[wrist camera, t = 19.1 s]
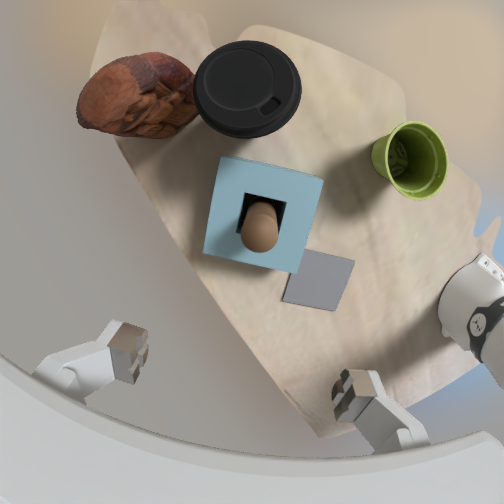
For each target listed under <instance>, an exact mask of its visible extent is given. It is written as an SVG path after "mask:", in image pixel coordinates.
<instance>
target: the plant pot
mask: <svg viewBox="0 0 504 504" xmlns="http://www.w3.org/2000/svg"><path fill="white" fill-rule="evenodd" d="M399 146H400V147H401V148H402V150H403V153H404V154H403V155H402V153H401V150H400V149H399ZM389 156H392V159H389ZM371 160H372V164H373V166H374V168H375V169H376V171H377V172H378V173H379V174H380V175H382V176H383V177H385V178H387V179H388V180H390V181H391V183H392V184H393V186H394V187H395V188H396V189H397V190H398V191H399V192H400V193H401V194H402V195H404V196H405V197H407V198H409V199H412V200H426V199H429V198H431V197H432V196H434V195H435V194H436V193H438V191H439V190H440V189H441V188H442V186H443V184H444V183H445V180H446V177H447V173H448V155H447V151H446V148H445V145H444V143H443V141H442V139H441V137H440V136H439V135H438V133H437V132H436V131H435V130H434V129H433V128H431V127H430V126H429V125H427V124H425V123H423V122H419V121H407V122H404V123H402V124H400V125H399V126H397V127H396V128H395V129H394V130H393V131H392V133H391V134H389V135H387V136H384V137H382V138H380V139H378V140H377V141H376V142H375V144H374V145H373V149H372V153H371ZM398 169H400V171H398V172H397V173H396V174H393V172H394V171H396V170H398Z"/></svg>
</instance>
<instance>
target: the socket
mask: <svg viewBox="0 0 504 504" xmlns="http://www.w3.org/2000/svg"><path fill="white" fill-rule="evenodd" d="M323 182H324V181H323V180H322V179H320V178H318V177H316V176H314V175H310V174H307V173H303V172H299V171H295V170H291V169H287V168H283V167H279V166H275V165H271V164H267V163H262V162H258V161H253V160H249V159H244V158H239V157H234V156H229V155H227V156H221V157H220V161H219V166H218V171H217V176H216V181H215V186H214V192H213V197H212V202H211V208H210V213H209V219H208V225H207V230H206V236H205V242H204V248H203V253H205V254H209V255H213V256H218V257H222V258H226V259H231V260H235V261H240V262H244V263H249V264H253V265H257V266H262V267H266V268H271V269H276V270H280V271H285V272H289V273H294V274H297V271H298V268H299V265H300V262H301V259H302V255H303V252H304V249H305V245H306V242H307V239H308V235H309V232H310V229H311V225H312V222H313V218H314V215H315V211H316V208H317V204H318V201H319V197H320V193H321V190H322V186H323ZM246 193H250V194H254V195H259V196H263V197H268V198H272V199H276V200H280V201H282V204H281V208H280V212H279V216H278V219H277V226H278V241H277V243H276V245H275V246H274V247H273V248H272V249H271V250H269V251H267V252H264V253H255V252H252V251H250V250H249V249H247V248H246V247H245V246H244V244H243V242H242V240H241V230H242V227H243V224H244V221H242V220H241V215H242V210H243V206H244V201H245V197H246Z"/></svg>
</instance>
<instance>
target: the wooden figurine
mask: <svg viewBox="0 0 504 504" xmlns="http://www.w3.org/2000/svg"><path fill="white" fill-rule="evenodd" d="M194 77H195V75H194V74H193V73H192V72H191V71H190V69H189V68H188V67H187V66H185V65H184V64H183V63H182V62H180V61H179V60H177V59H175V58H173V57H171V56H169V55H166V54H163V53H159V52H149V53H144V54H141V55H134V56H129V57H127V56H126V57H122V58H119V59H116V60H115V61H112V62H111V63H109V64H107V65H105V66H104V67H103V68H101V69H100V70H99V71H98V72H97V73H95V74H94V75H93V77H92V78H91V79H90V80H89V82H88V83H87V84H86V85H85V87H84V88H83V90H82V91H81V93H80V96H79V99H78V103H77V108H76V111H77V112H76V114H77V118H78V123H79V124H80V125H81V126H82V127H83V128H86V129H96V130H99V131H101V132H105V133H109V134H114V135H116V136H122V137H143V138H151V139H163V138H168V137H171V136H173V135H175V134H176V133H177V132H178V128H179V127H181V126H183V125H186V124H187V123H189V122H191V121H192V120H193V119H194V118H195V117H196V115H197V114H198V113H199V112H198V110H197V108H196V106H195V103H194V99H193V81H194Z"/></svg>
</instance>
